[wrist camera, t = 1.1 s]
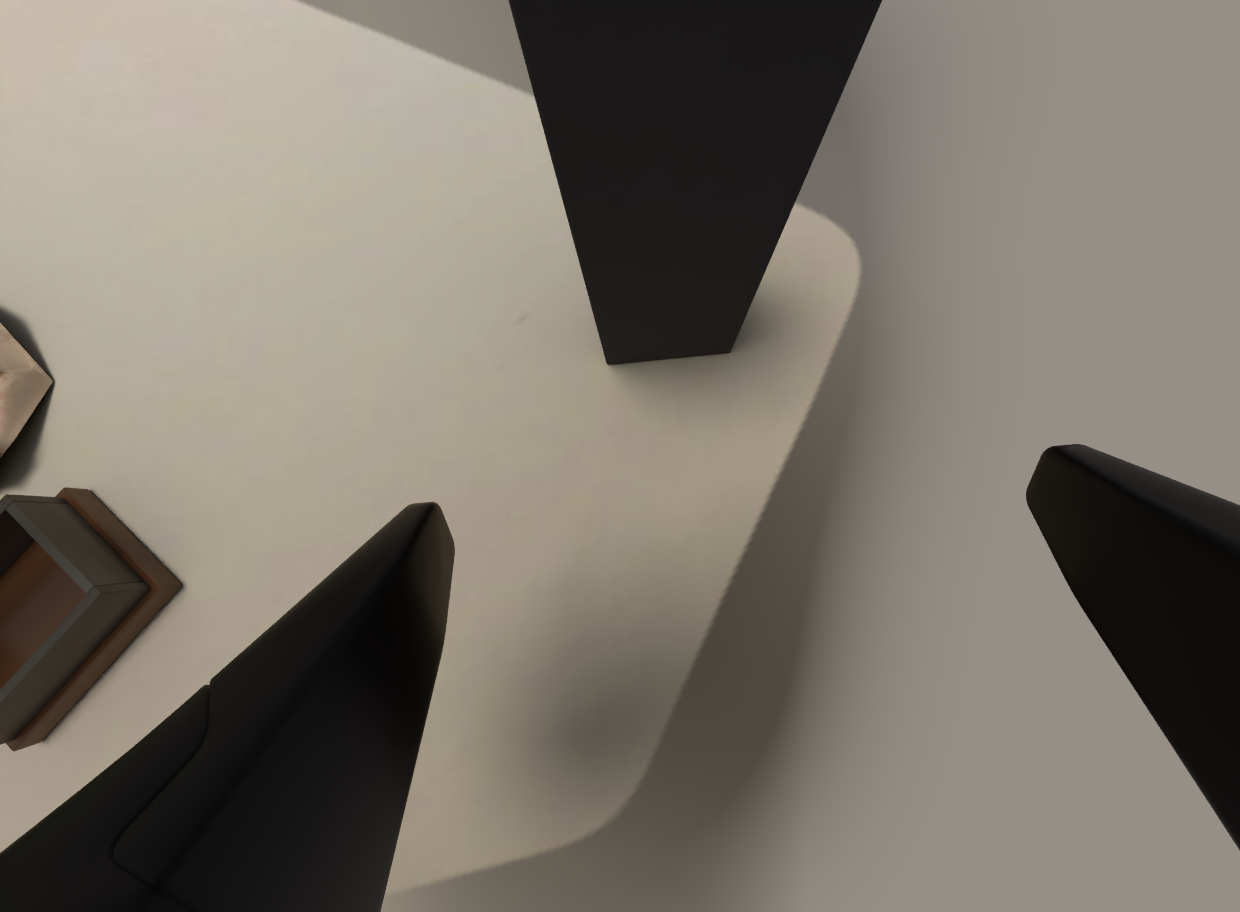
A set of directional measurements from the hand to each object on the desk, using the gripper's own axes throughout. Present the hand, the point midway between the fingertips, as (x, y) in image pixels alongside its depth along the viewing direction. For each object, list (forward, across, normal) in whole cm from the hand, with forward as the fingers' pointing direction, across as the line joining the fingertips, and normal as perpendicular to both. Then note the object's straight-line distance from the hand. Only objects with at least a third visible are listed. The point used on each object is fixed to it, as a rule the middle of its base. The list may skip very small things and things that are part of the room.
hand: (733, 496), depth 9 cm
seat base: (+8, +25, +11) cm, 29 cm away
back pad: (+15, 0, +4) cm, 16 cm away
